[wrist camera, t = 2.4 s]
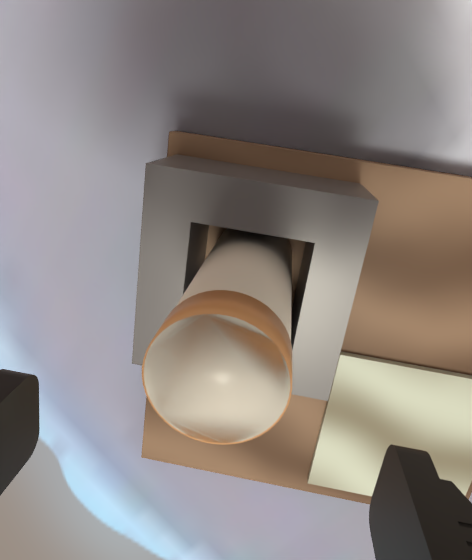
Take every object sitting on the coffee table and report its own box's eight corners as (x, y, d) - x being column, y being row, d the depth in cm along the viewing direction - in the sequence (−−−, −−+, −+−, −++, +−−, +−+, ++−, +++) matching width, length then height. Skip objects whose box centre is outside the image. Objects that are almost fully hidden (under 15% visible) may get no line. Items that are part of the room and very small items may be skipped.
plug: (219, 211, 23) (147, 299, 12) (299, 224, 22) (306, 328, 11) (210, 285, 24) (137, 429, 13) (285, 299, 24) (277, 457, 13)
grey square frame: (177, 154, 22) (145, 163, 17) (360, 183, 21) (378, 200, 17) (161, 318, 25) (131, 363, 20) (321, 347, 25) (327, 401, 20)
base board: (176, 130, 23) (166, 131, 21) (576, 193, 22) (601, 199, 20) (148, 441, 30) (139, 461, 28) (450, 502, 29) (461, 528, 27)
